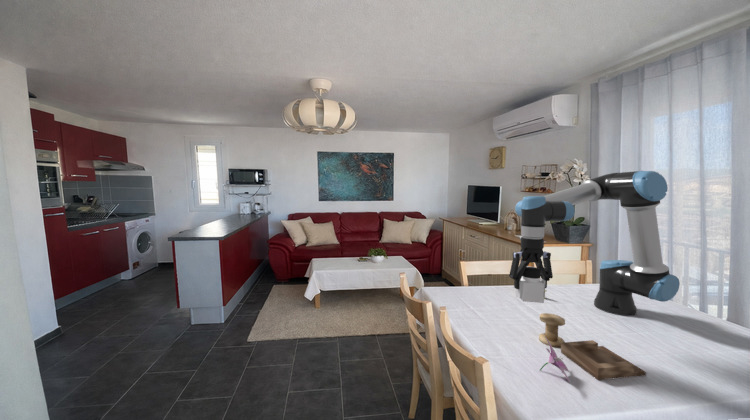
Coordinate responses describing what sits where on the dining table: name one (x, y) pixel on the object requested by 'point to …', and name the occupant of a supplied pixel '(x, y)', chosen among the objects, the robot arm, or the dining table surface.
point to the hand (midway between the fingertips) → (530, 296)
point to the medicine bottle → (532, 285)
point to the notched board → (599, 360)
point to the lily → (556, 360)
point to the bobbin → (551, 329)
